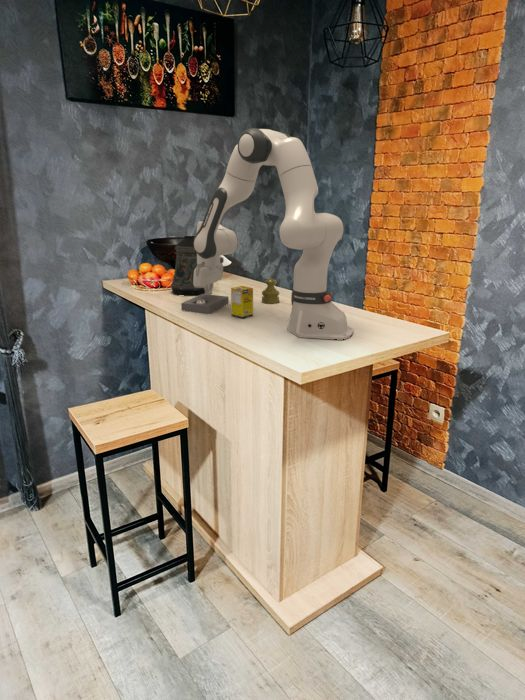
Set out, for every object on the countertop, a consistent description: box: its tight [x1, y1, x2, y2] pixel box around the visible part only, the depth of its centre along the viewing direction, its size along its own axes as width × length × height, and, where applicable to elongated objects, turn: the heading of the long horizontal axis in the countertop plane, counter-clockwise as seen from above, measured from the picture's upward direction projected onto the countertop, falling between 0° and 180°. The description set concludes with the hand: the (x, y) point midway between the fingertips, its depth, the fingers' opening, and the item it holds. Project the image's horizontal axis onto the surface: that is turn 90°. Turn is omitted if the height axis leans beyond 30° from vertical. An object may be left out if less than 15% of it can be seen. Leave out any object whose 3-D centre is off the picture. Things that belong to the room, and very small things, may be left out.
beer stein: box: [170, 235, 205, 297], centre depth 221 cm, size 16×19×25 cm
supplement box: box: [230, 285, 254, 320], centre depth 184 cm, size 6×6×11 cm
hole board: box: [180, 294, 229, 314], centre depth 198 cm, size 12×18×3 cm, turn 159°
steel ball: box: [196, 299, 206, 304], centre depth 195 cm, size 4×4×4 cm
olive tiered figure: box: [261, 277, 280, 305], centre depth 207 cm, size 7×7×10 cm
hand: (208, 294), depth 201 cm, fingers closed
